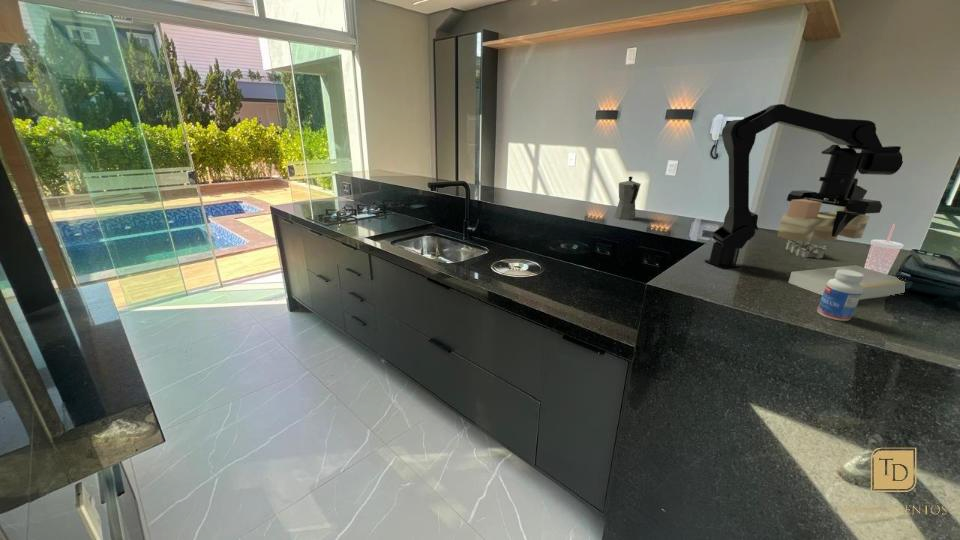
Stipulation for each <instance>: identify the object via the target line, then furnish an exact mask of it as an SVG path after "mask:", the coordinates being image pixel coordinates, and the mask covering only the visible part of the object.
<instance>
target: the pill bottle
mask: <svg viewBox="0 0 960 540" xmlns="http://www.w3.org/2000/svg"><path fill="white" fill-rule="evenodd" d="M863 276H864V275H863V274H861V273H859V272H856V271H851V270H845V269H839V270H837V272H836V274H835V277H836V278H835V279H831V280H829V281H828V283H827V285H826V287H825V290H824V293H823V295H821V299H820V300H819V304H818V307H817V309H816V312H817V313H818V314H819V315H821V316H823V317H824V318H827V319H830V320H836V321H842V322H846V321H847V322H848V321H849V320H851V319H852V317H853V315H854V313H855V311H856V309H857V305H858V303H859V301H860V300H859V299H860V296H861V294H862V291H863V287H862V286H861V285H860V284H859V283H860V282H861V281H862V279H863Z"/></svg>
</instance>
